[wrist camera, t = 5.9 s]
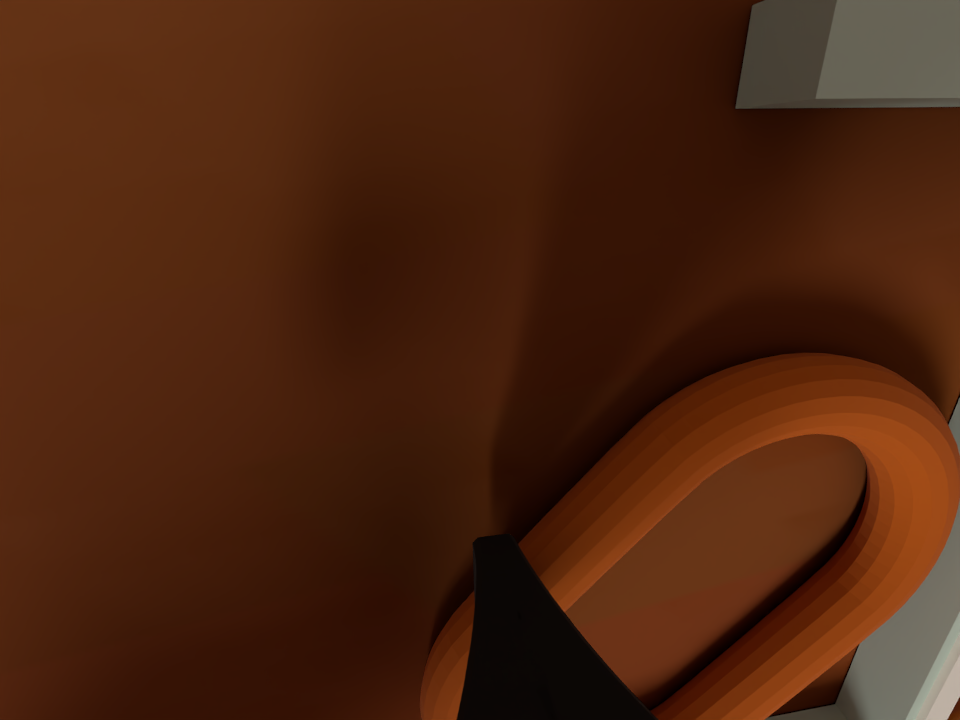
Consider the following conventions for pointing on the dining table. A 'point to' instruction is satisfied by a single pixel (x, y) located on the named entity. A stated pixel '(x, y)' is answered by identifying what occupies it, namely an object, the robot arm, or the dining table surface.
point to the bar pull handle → (956, 575)
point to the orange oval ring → (701, 452)
